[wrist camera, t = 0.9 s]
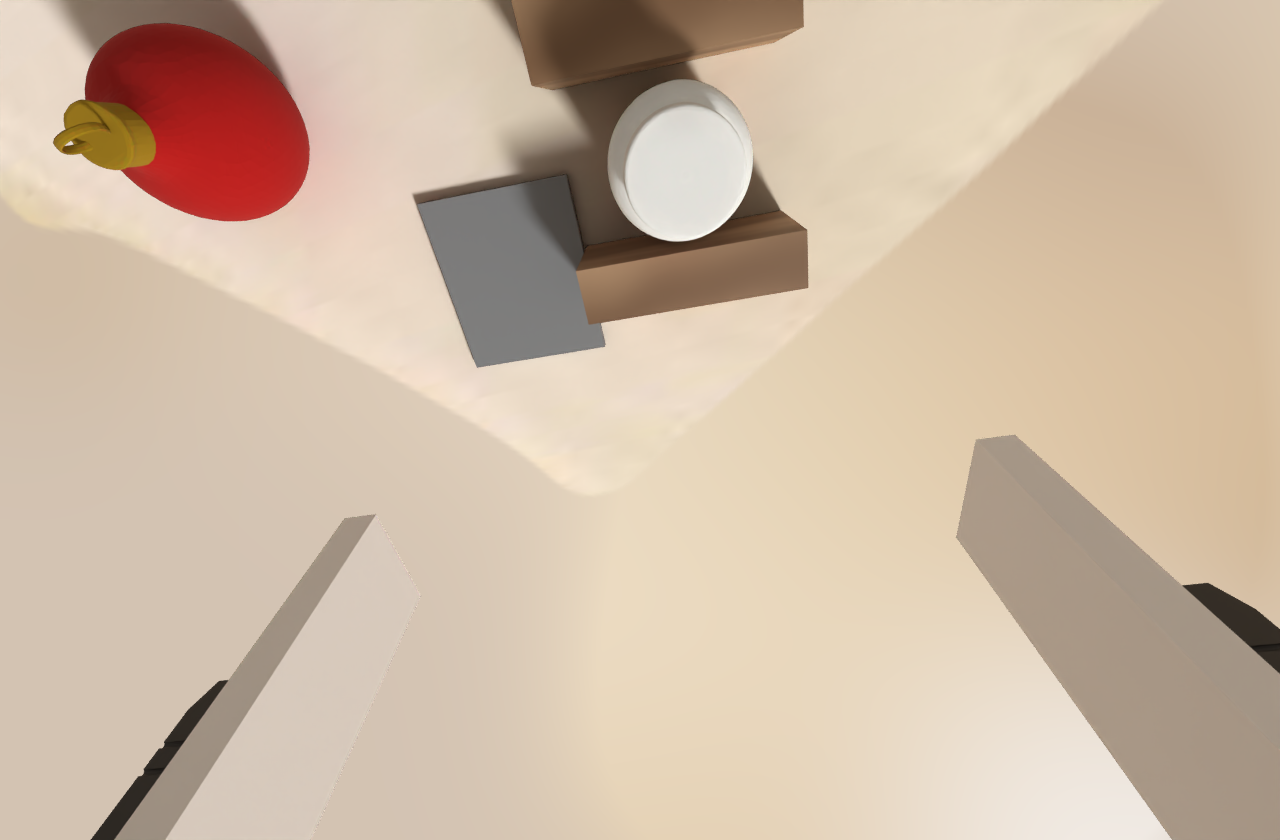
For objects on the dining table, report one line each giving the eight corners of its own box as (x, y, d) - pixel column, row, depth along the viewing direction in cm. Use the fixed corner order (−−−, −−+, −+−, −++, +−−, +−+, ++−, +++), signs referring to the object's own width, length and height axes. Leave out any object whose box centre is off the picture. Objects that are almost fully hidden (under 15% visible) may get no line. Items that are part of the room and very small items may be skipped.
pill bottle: (646, 231, 27) (645, 286, 19) (595, 124, 25) (568, 131, 16) (745, 180, 26) (792, 214, 17) (702, 62, 23) (733, 35, 15)
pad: (420, 203, 26) (417, 204, 26) (566, 174, 26) (565, 175, 25) (478, 364, 31) (476, 367, 31) (605, 343, 30) (604, 346, 30)
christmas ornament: (268, 233, 27) (94, 289, 19) (147, 91, 24) (-129, 81, 16) (371, 161, 26) (231, 187, 17) (255, -1, 22) (11, -71, 14)
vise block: (527, -22, 22) (498, -54, 18) (769, -79, 21) (801, -128, 17) (597, 292, 29) (588, 324, 24) (783, 260, 28) (808, 287, 23)
